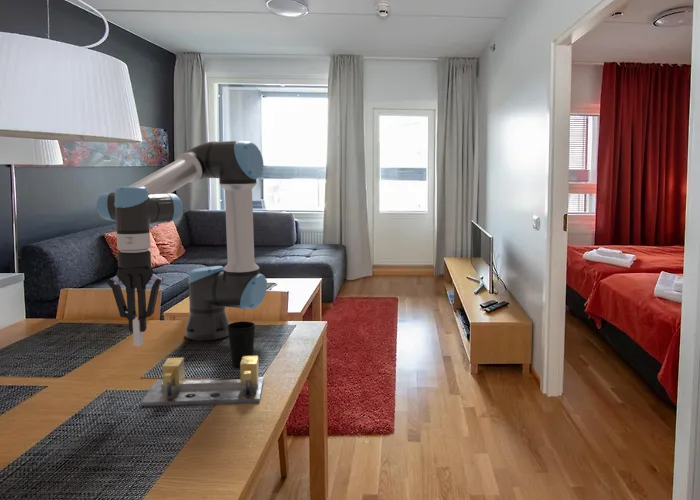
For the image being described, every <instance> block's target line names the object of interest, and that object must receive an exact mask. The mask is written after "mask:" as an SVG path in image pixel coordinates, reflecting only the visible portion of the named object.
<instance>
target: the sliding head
mask: <svg viewBox="0 0 700 500" xmlns="http://www.w3.org/2000/svg"><path fill="white" fill-rule="evenodd" d="M161 370H162V372H161V373H162V380H163V386H167V395H168V396H170V395H172V390H171V386H180V384H181V383H182V381H183V379H185V377H186V373H185V371H186V370H185V357H167V358H166V360H165V362H164V363H163V364H162V366H161Z"/></svg>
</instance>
